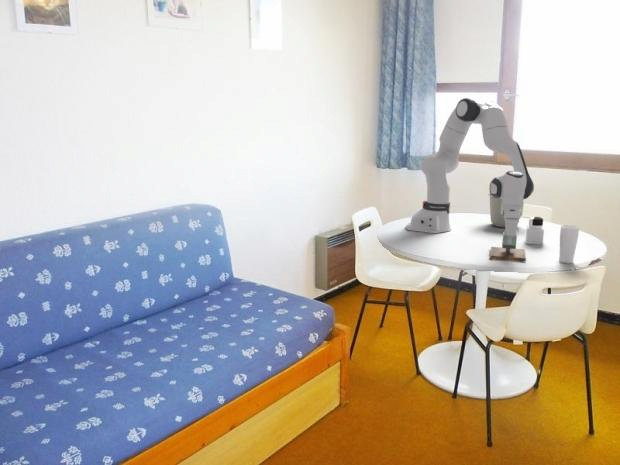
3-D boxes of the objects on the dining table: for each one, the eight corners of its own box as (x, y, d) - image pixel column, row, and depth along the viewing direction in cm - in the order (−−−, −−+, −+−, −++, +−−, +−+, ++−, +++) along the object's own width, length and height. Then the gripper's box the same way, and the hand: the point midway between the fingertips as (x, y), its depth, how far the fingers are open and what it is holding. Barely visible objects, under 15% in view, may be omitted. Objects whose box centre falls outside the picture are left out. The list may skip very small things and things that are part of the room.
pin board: (490, 258, 237) (491, 244, 236) (490, 249, 250) (491, 235, 249) (525, 261, 233) (526, 246, 232) (524, 252, 246) (525, 238, 244)
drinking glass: (554, 259, 236) (557, 225, 232) (569, 259, 236) (573, 224, 233) (562, 264, 229) (566, 229, 226) (578, 264, 230) (582, 228, 226)
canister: (480, 226, 293) (483, 186, 287) (494, 220, 306) (497, 181, 300) (514, 231, 281) (518, 190, 276) (527, 225, 294) (531, 185, 289)
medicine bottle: (541, 241, 264) (544, 216, 261) (542, 245, 258) (545, 219, 255) (525, 239, 266) (527, 215, 263) (525, 243, 260) (528, 218, 257)
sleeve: (502, 248, 239) (503, 234, 238) (502, 244, 244) (503, 231, 242) (515, 249, 237) (516, 235, 236) (515, 245, 242) (516, 232, 241)
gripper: (503, 204, 247) (501, 235, 251) (504, 214, 228) (501, 247, 232) (518, 205, 245) (516, 236, 249) (520, 215, 226) (517, 248, 230)
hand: (509, 241), depth 240 cm, fingers closed on sleeve, 5 cm apart
